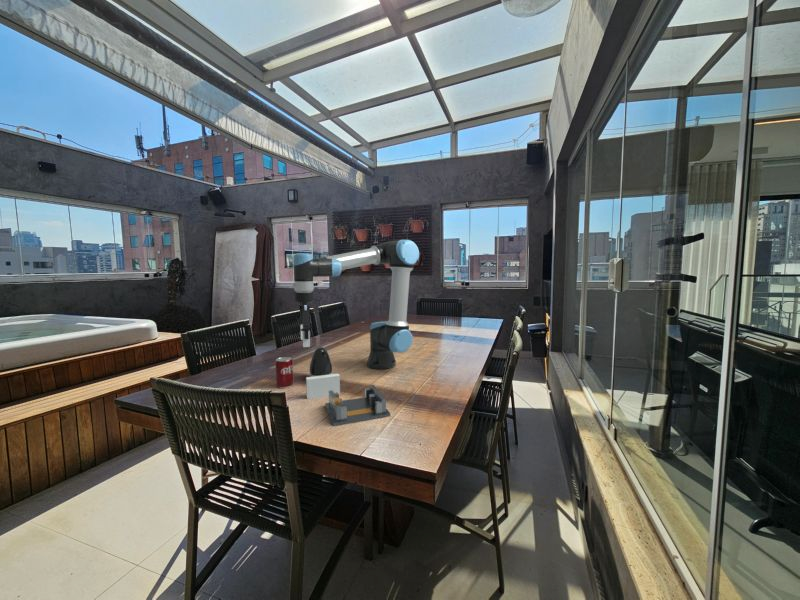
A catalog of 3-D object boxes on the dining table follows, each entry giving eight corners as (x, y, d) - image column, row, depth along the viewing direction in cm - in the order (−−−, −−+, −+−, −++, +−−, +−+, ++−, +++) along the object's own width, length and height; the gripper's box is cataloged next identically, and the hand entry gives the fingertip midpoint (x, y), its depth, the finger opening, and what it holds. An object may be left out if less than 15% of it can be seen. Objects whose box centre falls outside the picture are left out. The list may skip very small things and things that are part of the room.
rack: (375, 398, 134) (375, 381, 133) (390, 416, 118) (390, 397, 118) (325, 405, 127) (324, 387, 126) (333, 426, 111) (333, 405, 110)
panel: (338, 392, 141) (338, 373, 140) (340, 394, 138) (339, 375, 137) (306, 396, 136) (306, 377, 135) (307, 399, 133) (306, 379, 132)
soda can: (272, 386, 146) (271, 359, 145) (285, 381, 152) (284, 355, 151) (284, 389, 142) (283, 362, 141) (297, 384, 149) (296, 358, 148)
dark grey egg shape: (316, 385, 148) (315, 351, 146) (305, 379, 156) (305, 347, 154) (336, 380, 155) (336, 347, 153) (325, 374, 162) (325, 343, 161)
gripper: (293, 289, 147) (294, 337, 149) (295, 294, 123) (297, 351, 126) (310, 289, 149) (311, 336, 151) (316, 294, 126) (317, 349, 128)
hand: (305, 342), depth 139 cm, fingers open, 13 cm apart
